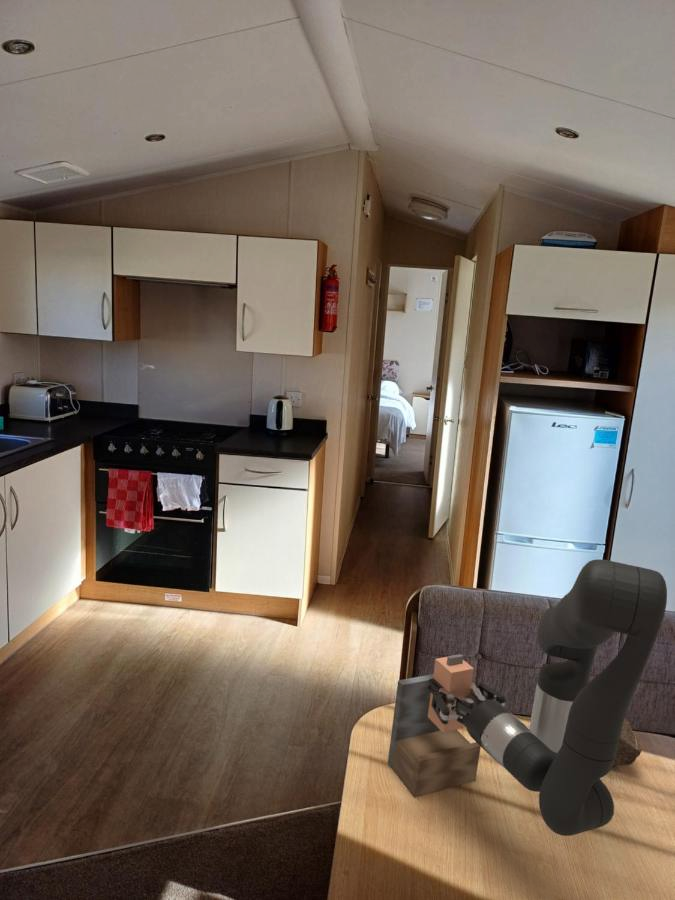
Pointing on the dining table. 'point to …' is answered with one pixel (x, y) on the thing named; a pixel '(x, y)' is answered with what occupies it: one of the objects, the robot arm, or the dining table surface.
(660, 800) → the dining table surface
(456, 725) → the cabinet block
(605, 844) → the dining table surface
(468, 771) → the grey brown l-shaped block
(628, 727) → the rock
